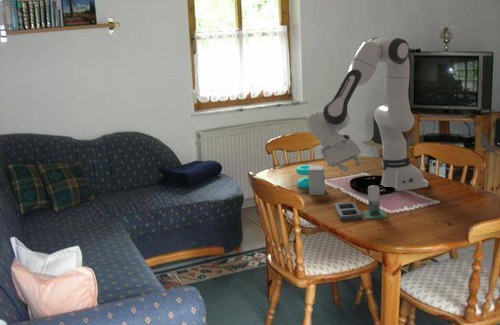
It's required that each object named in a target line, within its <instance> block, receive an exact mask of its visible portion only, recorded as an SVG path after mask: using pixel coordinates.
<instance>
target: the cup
mask: <svg viewBox="0 0 500 325" xmlns="http://www.w3.org/2000/svg"><path fill="white" fill-rule="evenodd" d="M367 194H368V195H367V197H368V211H369V215H372V216H376V215H379V214H380V209H381V206H380V205H381V204H380V203H381V202H380V201H381V200H380V198H381V197H380V185H377V184H375V185H374V184H372V185H368V186H367Z"/></svg>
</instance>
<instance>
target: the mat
mask: <svg viewBox="0 0 500 325" xmlns="http://www.w3.org/2000/svg"><path fill="white" fill-rule="evenodd" d="M361 214H362V216H363V217H364V219H365V221H366V220H367V221H368V220H378V219H388V216H387V214H386V212H385V211H384V209H382V208H380V214H379V215H376V216H372V215H369V210H361Z"/></svg>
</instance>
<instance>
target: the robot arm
mask: <svg viewBox="0 0 500 325" xmlns="http://www.w3.org/2000/svg"><path fill="white" fill-rule="evenodd" d="M409 54H410V47H409V44H408V42H407V40H405V39H403V38H400V37H392V36H391V37H390V36H387V37H386V36H384V37H383V36H382V37H372V38H370V39H368V40H367V41H364V42H363V43H362V44H361V45H360V46H359V48H358V49H357V50H356V52H355V54H354V56H353V57H352V60H351V62H350V64H349V65H348V69H347V72H346V74H345V77H344V79H343V81H342V82H341V84H340V86H339V88H338V90H337V92H336V93H335V95H334V97H333V98H332V99H331V100H329V101H328V103H326V105H325V106H324V107H323V111H315V112H313V113H312V114H311V115H310V116H309V118H308V119H307V127H308V129H309V131H310V133H311V134H312V135H313V137H314V138H315V139H317V140H318V141H319V142H320V145H321V147H322V148H321V150H320V152H321V155H322V157H323V159H324V161H325V162H326V164H327V165H328V166H329V167H330V168H334V167H338V168H339V169H340V170H342V171H343V172H344V173H347V172H348V171H349V170H350V168H349V167H348V166H347V165H346V166H345V164H343V163H346V162H348V161H350V160H353V161H355V166H357V167H360V166H361V165H362V162H361V161H360V157H359V155H360V154H361V153H362V151H361V149H360V147H359V146H358V145H357V143H356V142H355V141H353V140H352V139H351V136H350V135H349V134H341V133H339V131H342V130H343V129H344V128H346V127H347V126H348V125H349V122H350V120H351V119H350V114H349V112H348V105H349V103H350V100H351V99H352V97H353V94H354V93H355V91H356V89H357V88H358V87H359V86H363V85H366V84H367V83H368V82H369V81H370V80H371V78H372V77H373V76H374V73H375V71H376V69H377V67H378V64H379V62H381V63H385V65H386V66H385V74H384V84H383V85H384V86H383V94H384V96H385V99H386V103H387V104H382V105H379V106H378V107H376V108H375V109H374V110H375V111H374V114H373V118H374V120H375V122H376V124H377V126H378V130H379V134H380V138H381V143H382V157H381V168H382V169H381V170H382V176H381V181H380V185H382V186H384V187H393V188H395V190H394V191H397V192H404V191H411V190H416V189H421V188H422V189H423V188H428V187H429V182H428V180H427V179H425V178H424V174H423V173H422V171H421V170H420V169H419V168H418V167H416V166H415V165H413V164H414V159H413V158H412V157H409V156H408V155H407V140H406V138H405V137H404V135H403V132H408V131H410V130H411V129H412V128H413V126H414V124H415V116H414V115H413V113H412V111H411V106H410V99H409V98H410V97H409V85H410V74H411V72H410V71H411V70H410V68H411V66H410V58H409Z"/></svg>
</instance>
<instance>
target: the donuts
mask: <svg viewBox="0 0 500 325" xmlns="http://www.w3.org/2000/svg"><path fill="white" fill-rule="evenodd" d="M309 166H313V164H312V165H311V164H302V165H299V166H297V167H296V169H295V171H296V173H297V174H298V175H300V176H308V169H309ZM296 186H297V187H298V188H300V189H309V177H302V178H300V179H298V180H297V182H296Z"/></svg>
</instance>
